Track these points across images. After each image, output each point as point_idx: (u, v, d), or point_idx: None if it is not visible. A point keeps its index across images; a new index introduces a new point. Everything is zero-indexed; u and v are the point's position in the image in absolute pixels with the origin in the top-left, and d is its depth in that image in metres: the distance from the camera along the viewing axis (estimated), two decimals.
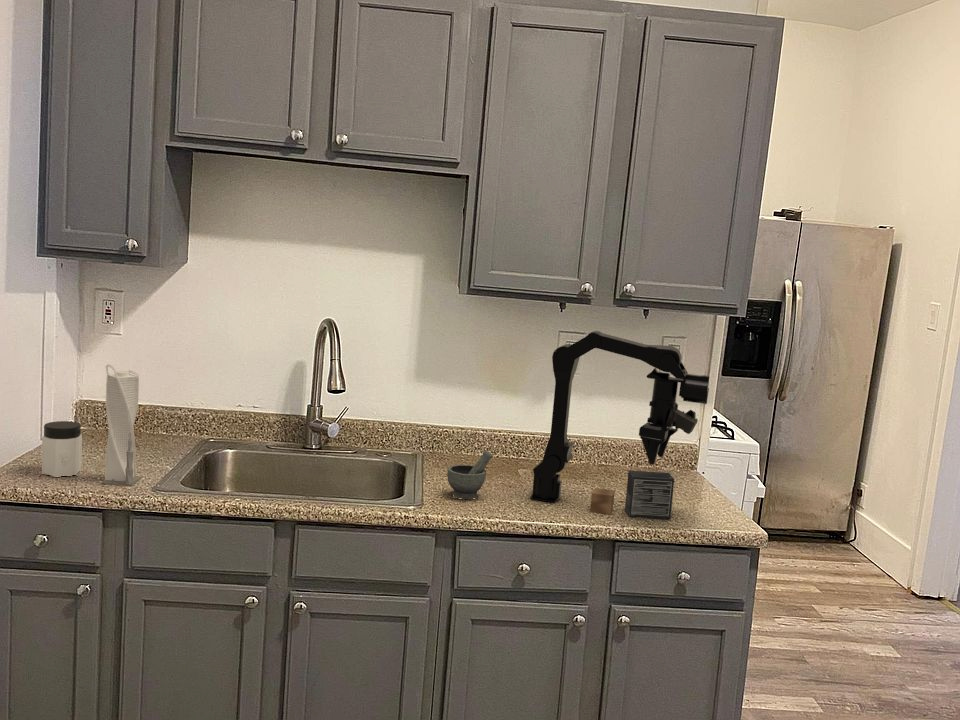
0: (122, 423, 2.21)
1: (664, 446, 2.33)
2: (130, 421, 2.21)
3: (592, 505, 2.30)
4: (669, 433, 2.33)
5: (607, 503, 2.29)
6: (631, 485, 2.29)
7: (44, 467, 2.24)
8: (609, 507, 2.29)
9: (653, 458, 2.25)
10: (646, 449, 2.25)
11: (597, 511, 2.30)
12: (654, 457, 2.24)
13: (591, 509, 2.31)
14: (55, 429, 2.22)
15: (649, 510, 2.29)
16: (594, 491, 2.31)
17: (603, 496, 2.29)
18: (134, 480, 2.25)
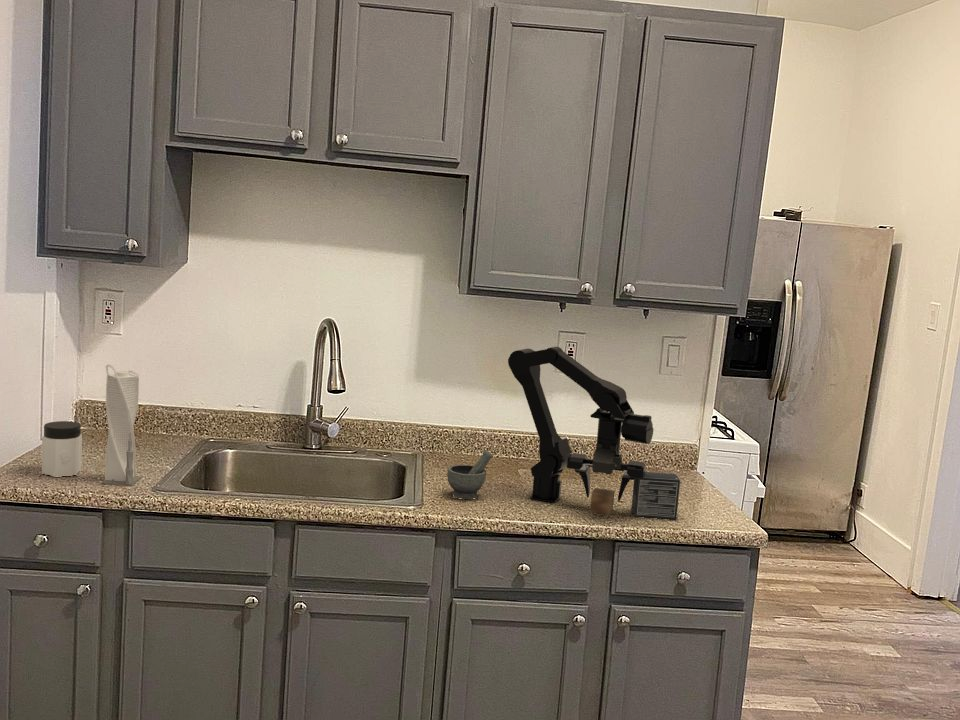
0: (122, 423, 2.21)
1: (619, 490, 2.30)
2: (130, 421, 2.21)
3: (592, 505, 2.30)
4: None
5: (607, 503, 2.29)
6: (637, 486, 2.29)
7: (44, 467, 2.24)
8: (609, 507, 2.29)
9: (585, 490, 2.33)
10: None
11: (597, 511, 2.30)
12: None
13: (591, 509, 2.31)
14: (55, 429, 2.22)
15: (655, 511, 2.29)
16: (594, 491, 2.31)
17: (603, 496, 2.29)
18: (134, 480, 2.25)
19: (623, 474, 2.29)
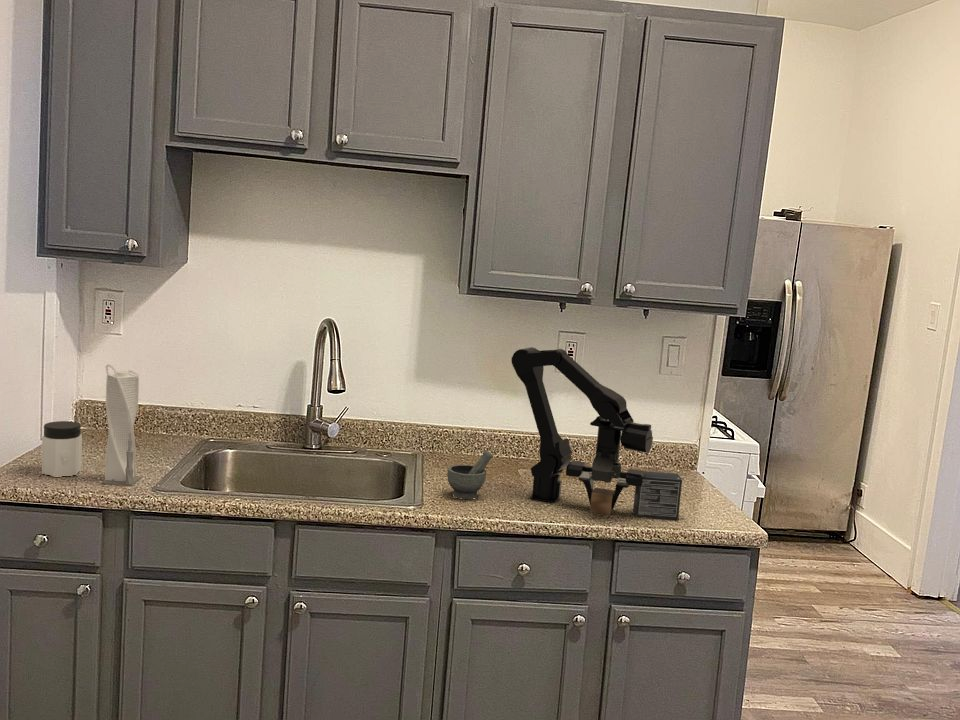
0: (122, 423, 2.21)
1: (613, 498, 2.31)
2: (130, 421, 2.21)
3: (592, 505, 2.30)
4: (616, 486, 2.29)
5: (607, 502, 2.29)
6: None
7: (44, 467, 2.24)
8: (609, 507, 2.29)
9: (589, 498, 2.33)
10: None
11: (597, 510, 2.30)
12: None
13: (591, 509, 2.31)
14: (55, 429, 2.22)
15: (657, 510, 2.29)
16: (594, 491, 2.31)
17: (603, 496, 2.29)
18: (134, 480, 2.25)
19: None
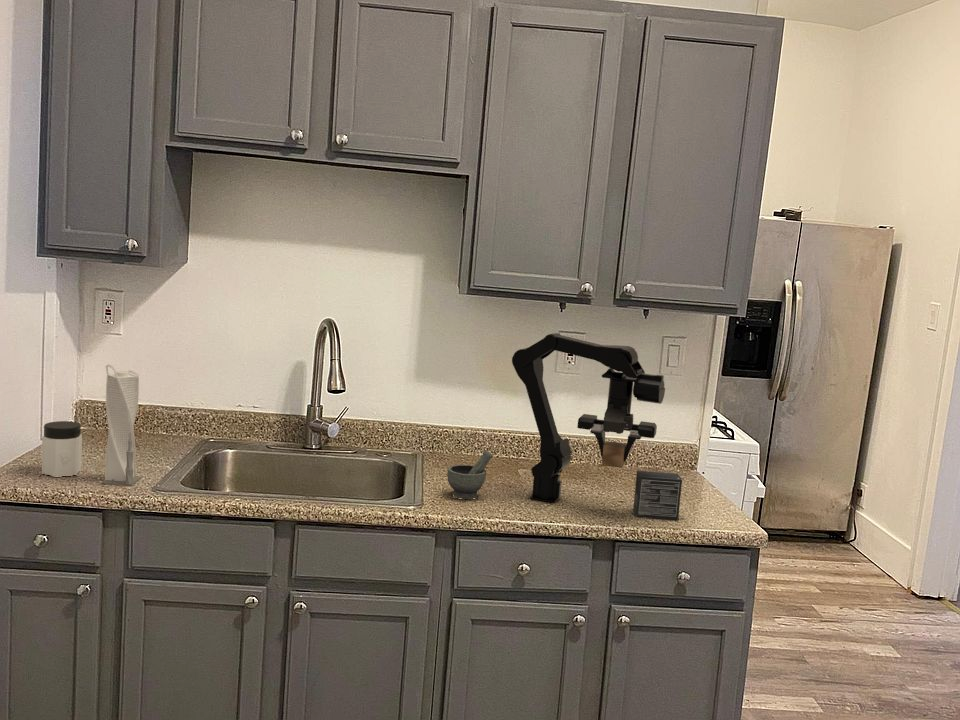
0: (122, 423, 2.21)
1: (625, 451, 2.29)
2: (130, 421, 2.21)
3: (604, 457, 2.29)
4: (628, 438, 2.27)
5: (619, 455, 2.27)
6: (638, 485, 2.30)
7: (44, 467, 2.24)
8: (621, 459, 2.27)
9: None
10: None
11: (609, 463, 2.28)
12: None
13: (603, 462, 2.29)
14: (55, 429, 2.22)
15: (657, 510, 2.29)
16: (606, 444, 2.29)
17: (615, 448, 2.27)
18: (134, 480, 2.25)
19: (629, 434, 2.28)
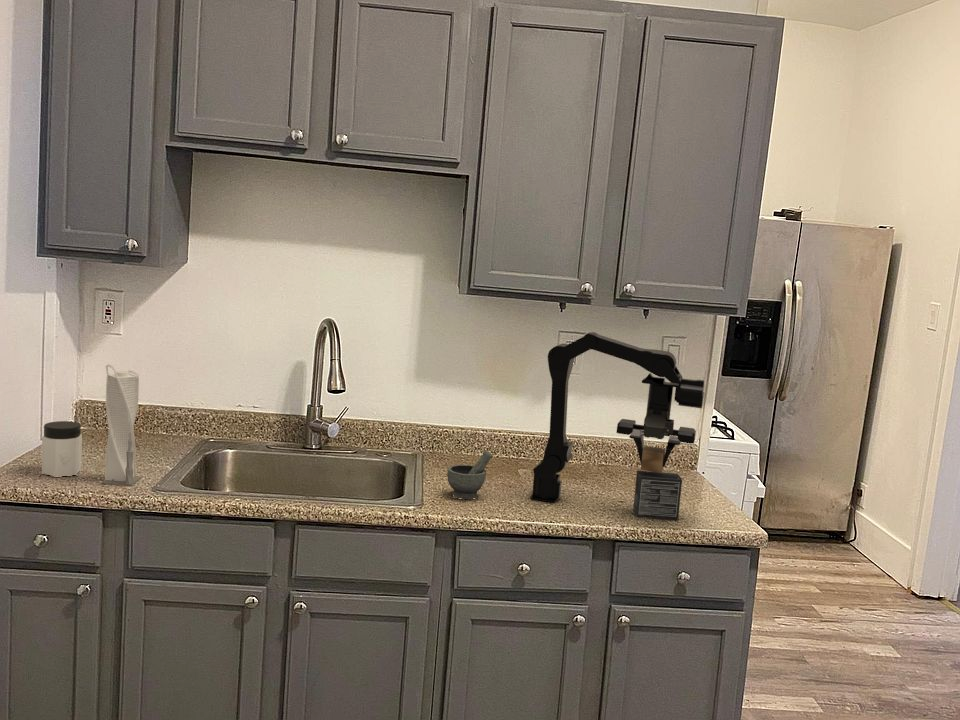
0: (122, 423, 2.21)
1: (664, 456, 2.29)
2: (130, 421, 2.21)
3: (643, 462, 2.29)
4: None
5: (659, 460, 2.27)
6: (638, 485, 2.30)
7: (44, 467, 2.24)
8: (660, 464, 2.27)
9: None
10: None
11: (648, 468, 2.28)
12: None
13: (642, 467, 2.29)
14: (55, 429, 2.22)
15: (657, 510, 2.29)
16: (645, 449, 2.30)
17: (654, 454, 2.28)
18: (134, 480, 2.25)
19: None
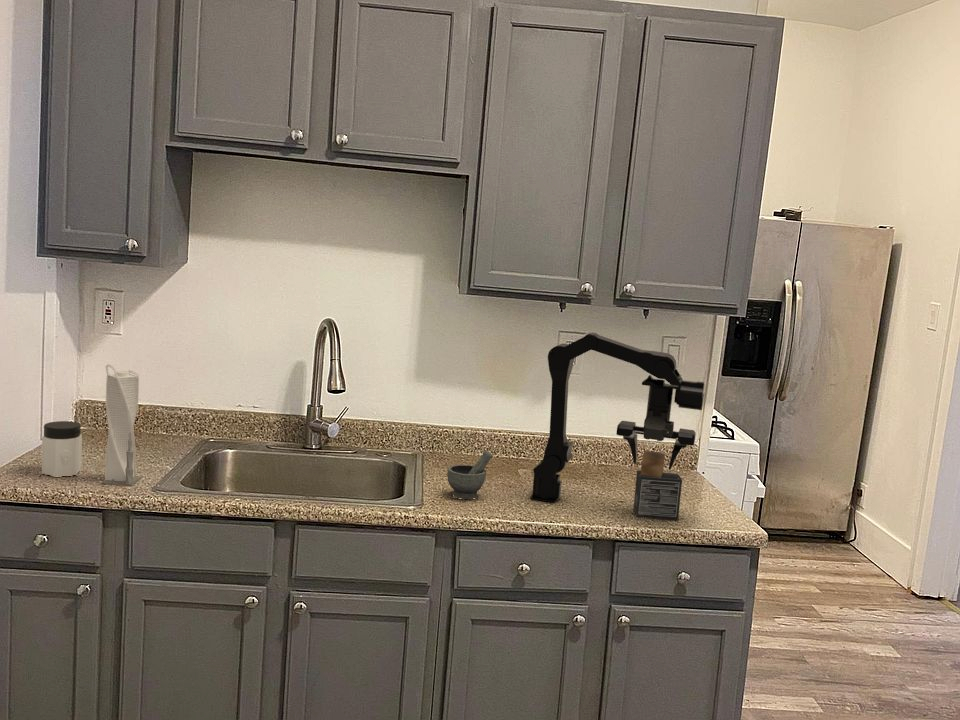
0: (122, 423, 2.21)
1: None
2: (130, 421, 2.21)
3: (643, 467, 2.29)
4: (674, 446, 2.27)
5: (659, 465, 2.28)
6: (638, 485, 2.30)
7: (44, 467, 2.24)
8: (660, 469, 2.28)
9: (633, 458, 2.31)
10: None
11: (648, 473, 2.29)
12: None
13: (642, 471, 2.29)
14: (55, 429, 2.22)
15: (657, 510, 2.29)
16: (645, 453, 2.30)
17: (654, 459, 2.28)
18: (134, 480, 2.25)
19: (675, 442, 2.28)
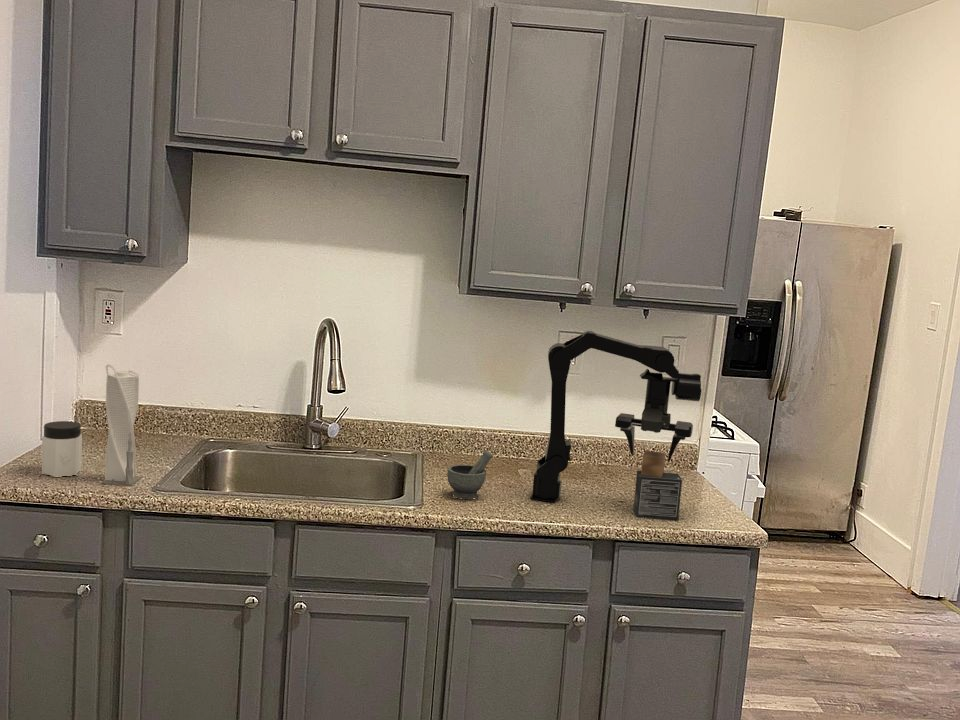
0: (122, 423, 2.21)
1: None
2: (130, 421, 2.21)
3: (643, 467, 2.29)
4: None
5: (659, 465, 2.28)
6: (638, 485, 2.30)
7: (44, 467, 2.24)
8: (661, 469, 2.28)
9: (630, 449, 2.37)
10: None
11: (648, 473, 2.29)
12: None
13: (642, 471, 2.29)
14: (55, 429, 2.22)
15: (657, 510, 2.29)
16: (645, 453, 2.30)
17: (654, 459, 2.28)
18: (134, 480, 2.25)
19: (674, 434, 2.33)
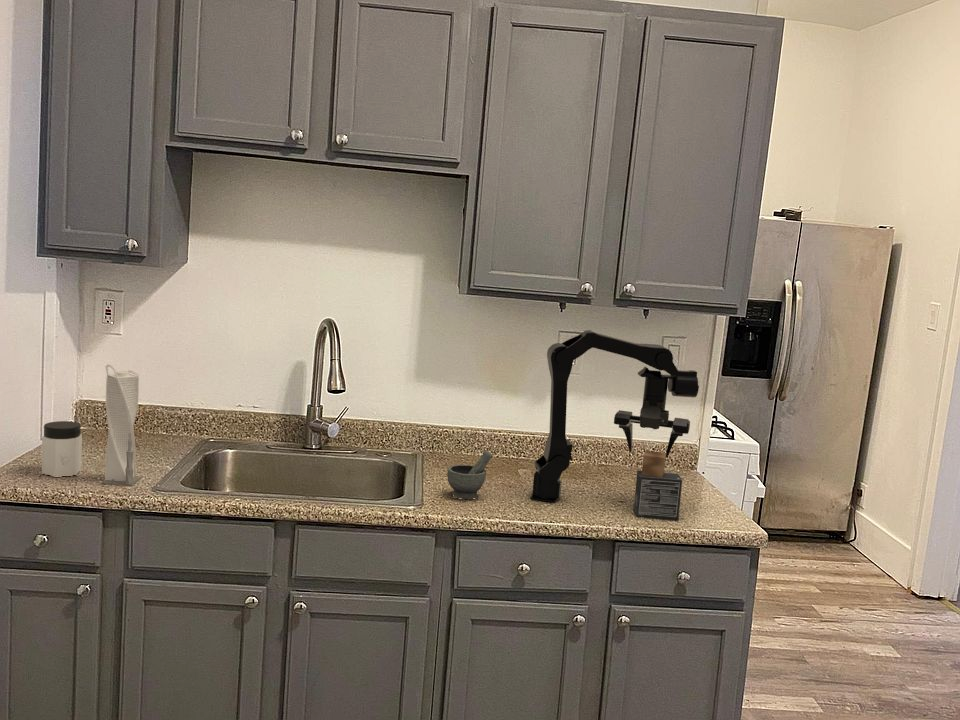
0: (122, 423, 2.21)
1: (667, 447, 2.37)
2: (130, 421, 2.21)
3: (644, 467, 2.29)
4: (670, 435, 2.36)
5: (660, 465, 2.28)
6: (639, 485, 2.30)
7: (44, 467, 2.24)
8: (661, 469, 2.28)
9: None
10: None
11: (649, 473, 2.29)
12: None
13: (643, 472, 2.29)
14: (55, 429, 2.22)
15: (657, 511, 2.29)
16: (646, 454, 2.30)
17: (655, 459, 2.28)
18: (134, 480, 2.25)
19: None
